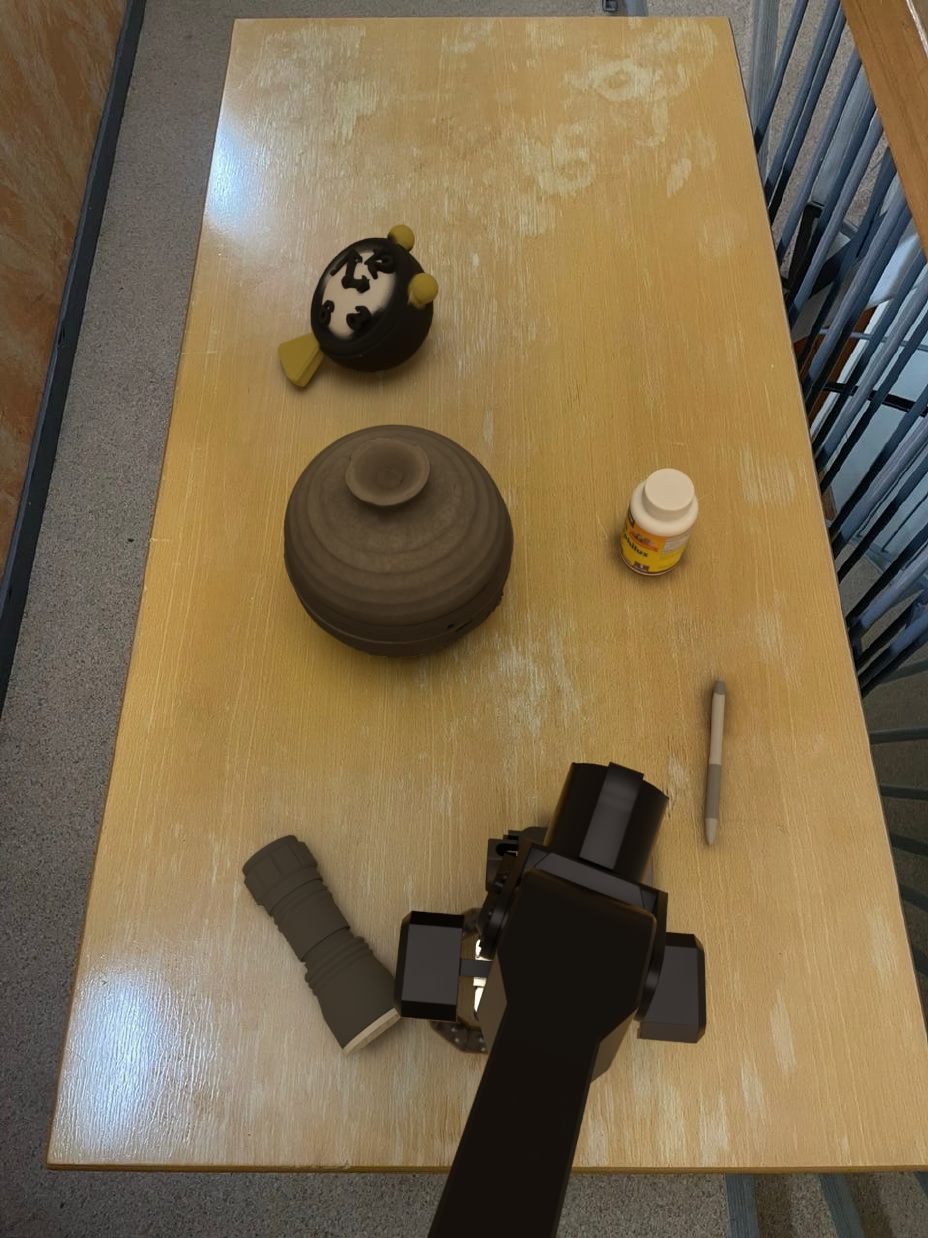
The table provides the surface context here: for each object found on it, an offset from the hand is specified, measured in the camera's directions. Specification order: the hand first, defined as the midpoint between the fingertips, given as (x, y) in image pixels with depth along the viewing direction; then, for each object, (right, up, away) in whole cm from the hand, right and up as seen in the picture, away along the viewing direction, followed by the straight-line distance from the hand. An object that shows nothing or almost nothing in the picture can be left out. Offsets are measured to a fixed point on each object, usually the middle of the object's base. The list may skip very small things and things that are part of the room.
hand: (541, 984), depth 64 cm
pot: (-10, +27, +17) cm, 34 cm away
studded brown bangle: (-4, 0, 0) cm, 4 cm away
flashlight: (-15, +1, +5) cm, 16 cm away
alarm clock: (-15, +52, +28) cm, 61 cm away
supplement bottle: (+11, +32, +18) cm, 38 cm away
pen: (+15, +14, +10) cm, 23 cm away
